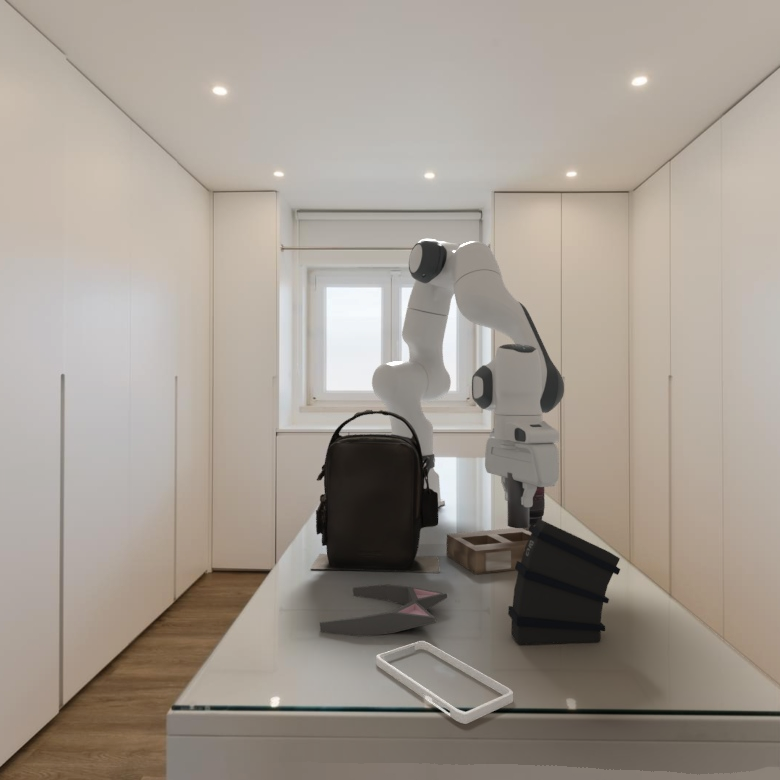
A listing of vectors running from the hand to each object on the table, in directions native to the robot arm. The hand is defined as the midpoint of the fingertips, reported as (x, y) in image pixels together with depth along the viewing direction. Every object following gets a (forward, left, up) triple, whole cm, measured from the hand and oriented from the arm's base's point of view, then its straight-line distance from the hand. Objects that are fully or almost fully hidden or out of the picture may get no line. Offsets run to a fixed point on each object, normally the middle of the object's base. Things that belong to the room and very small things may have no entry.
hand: (518, 503), depth 107 cm
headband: (+18, -32, -11) cm, 38 cm away
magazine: (+32, -13, -10) cm, 36 cm away
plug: (0, 0, -4) cm, 4 cm away
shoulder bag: (-5, -26, -10) cm, 29 cm away
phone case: (+36, -32, -11) cm, 50 cm away
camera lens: (-25, +18, -10) cm, 33 cm away
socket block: (0, -4, -10) cm, 11 cm away
